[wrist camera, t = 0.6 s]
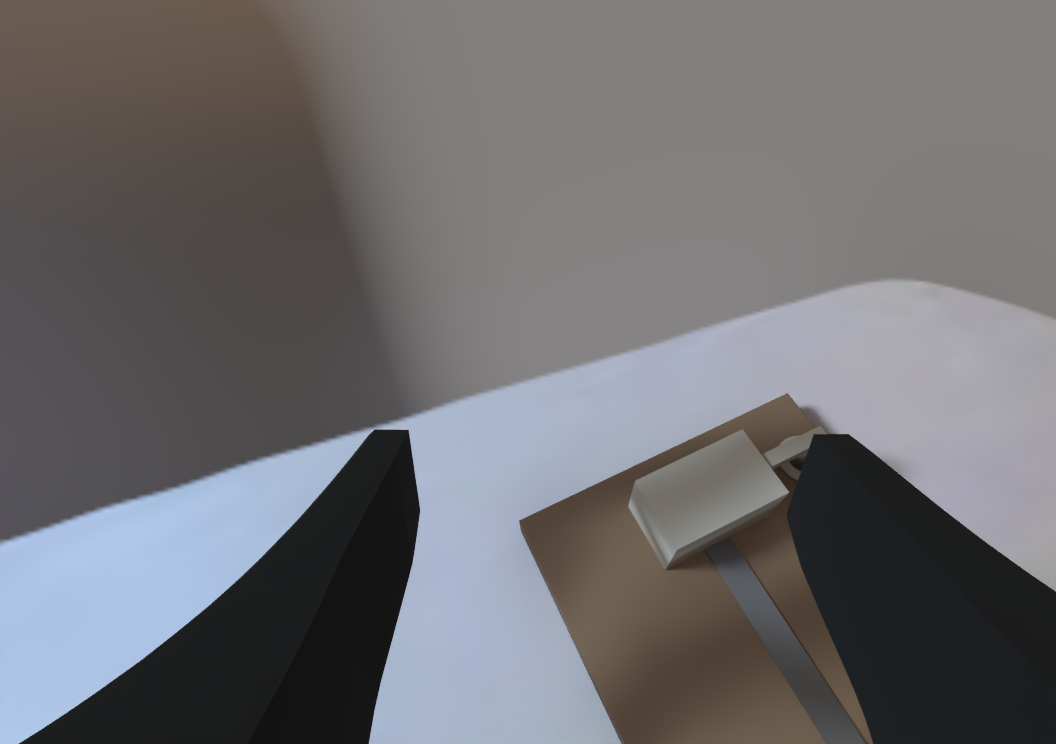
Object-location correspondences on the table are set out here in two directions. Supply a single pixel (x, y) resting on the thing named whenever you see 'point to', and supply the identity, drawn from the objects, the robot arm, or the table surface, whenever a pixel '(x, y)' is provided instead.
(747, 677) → the gauge board
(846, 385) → the table surface
